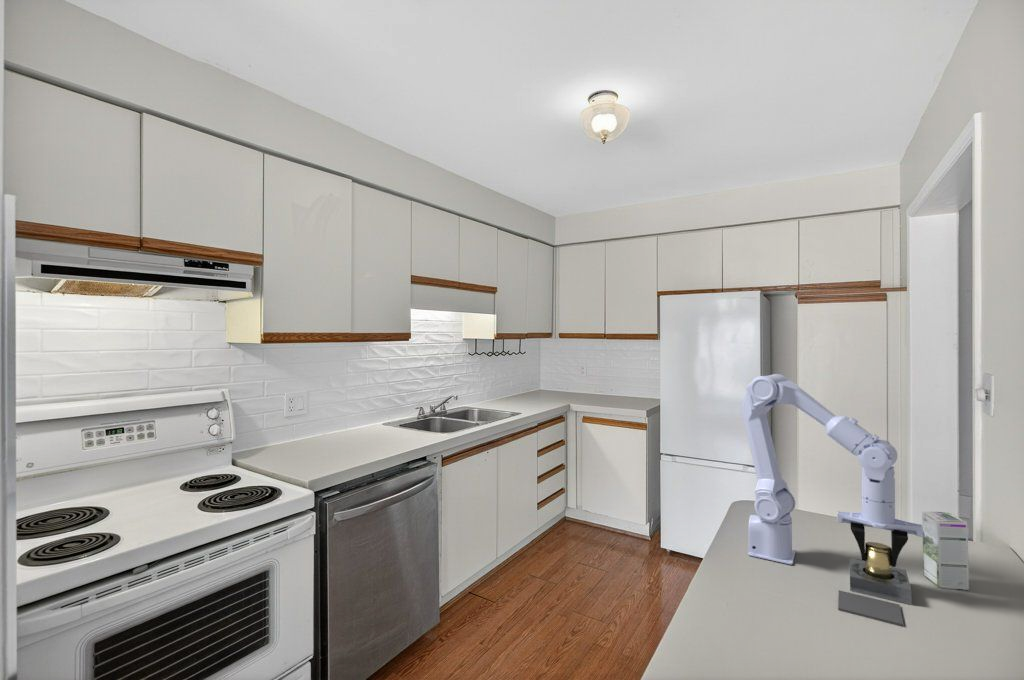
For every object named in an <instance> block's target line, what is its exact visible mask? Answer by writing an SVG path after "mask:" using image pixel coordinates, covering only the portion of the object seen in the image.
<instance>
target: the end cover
mask: <svg viewBox="0 0 1024 680" xmlns="http://www.w3.org/2000/svg"><path fill="white" fill-rule="evenodd" d="M891 548H892V547H891V546H888V545H887V544H885V543H881V542H876V541H868V542H865V554H866V561H865V573H866V574H868V575H870V576H873V577H875V578H880V579H891V567H892V566H891Z"/></svg>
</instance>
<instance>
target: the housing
mask: <svg viewBox="0 0 1024 680" xmlns="http://www.w3.org/2000/svg"><path fill="white" fill-rule="evenodd" d="M907 572H908V571H907V569H904V568H899V567H892V566H891V579H880V578H875V577H873V576H870V575H868V574H866V573H865V561H862V560H859V559H856V558H855V559H854V558H850V557H849V591H851V592H855V593H859V594H863V595H867V596H871V597H876V598H880V599H884V600H889V601H893V602H897V603H902V604H906V605H912V587H911V583H910V579H909V576H908V573H907Z"/></svg>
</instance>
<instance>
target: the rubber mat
mask: <svg viewBox="0 0 1024 680" xmlns="http://www.w3.org/2000/svg"><path fill="white" fill-rule="evenodd" d="M837 601H838V606H837V607H838V608H837V611H841V612H845V613H847V614H848V613H849V614H851V615H852V614H853V615H856V616H861V617H865V618H868V619H872V620H877V621H879V622H883V623H888V624H891V625H895V626H900V627H904V620H903V616H902V610H901V606H900V604H899V603H895V602H890V601H887V600H882V599H878V598H874V597H868V596H864V595H860V594H856V593H853V592H848V591H844V590H838V600H837Z"/></svg>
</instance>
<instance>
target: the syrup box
mask: <svg viewBox="0 0 1024 680" xmlns="http://www.w3.org/2000/svg"><path fill="white" fill-rule="evenodd" d="M921 515H922V518H921V523H922V524H921V525H922V527H923V537H922V572H923V573H922V575H923V577H925V578H926V579H928V580H929V581H930V582H931V583H933V584H934V585H935V586H937V588H939V589H940V588H941V589H947V590H948V589H949V590H957V589H963V591H970V577H969V576H970V574H969V569H970V568H969V525H968V522H967V521H966V520H964V519H961V518H960V517H958V516H956V515H954V514H952V513H950V512H945V511H943V512H942V511H921Z"/></svg>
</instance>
